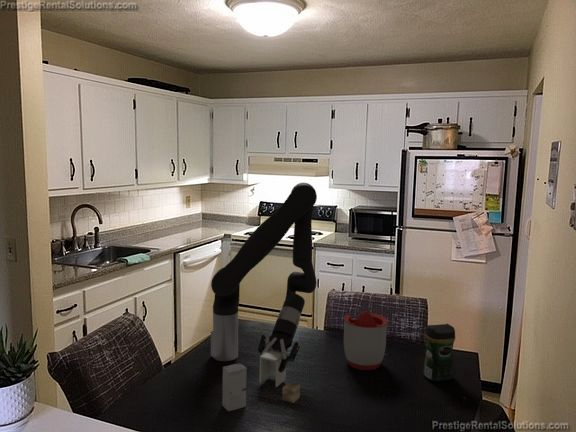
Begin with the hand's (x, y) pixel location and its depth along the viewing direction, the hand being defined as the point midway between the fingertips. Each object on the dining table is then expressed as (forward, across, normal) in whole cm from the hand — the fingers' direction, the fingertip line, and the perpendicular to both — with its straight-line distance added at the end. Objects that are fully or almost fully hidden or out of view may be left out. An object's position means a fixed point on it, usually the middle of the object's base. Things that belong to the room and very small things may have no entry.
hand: (270, 369), depth 153 cm
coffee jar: (-19, +48, +27) cm, 58 cm away
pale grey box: (+2, 0, +4) cm, 5 cm away
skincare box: (+16, -4, -7) cm, 18 cm away
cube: (+7, +10, +1) cm, 12 cm away
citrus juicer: (-18, +22, +26) cm, 38 cm away
